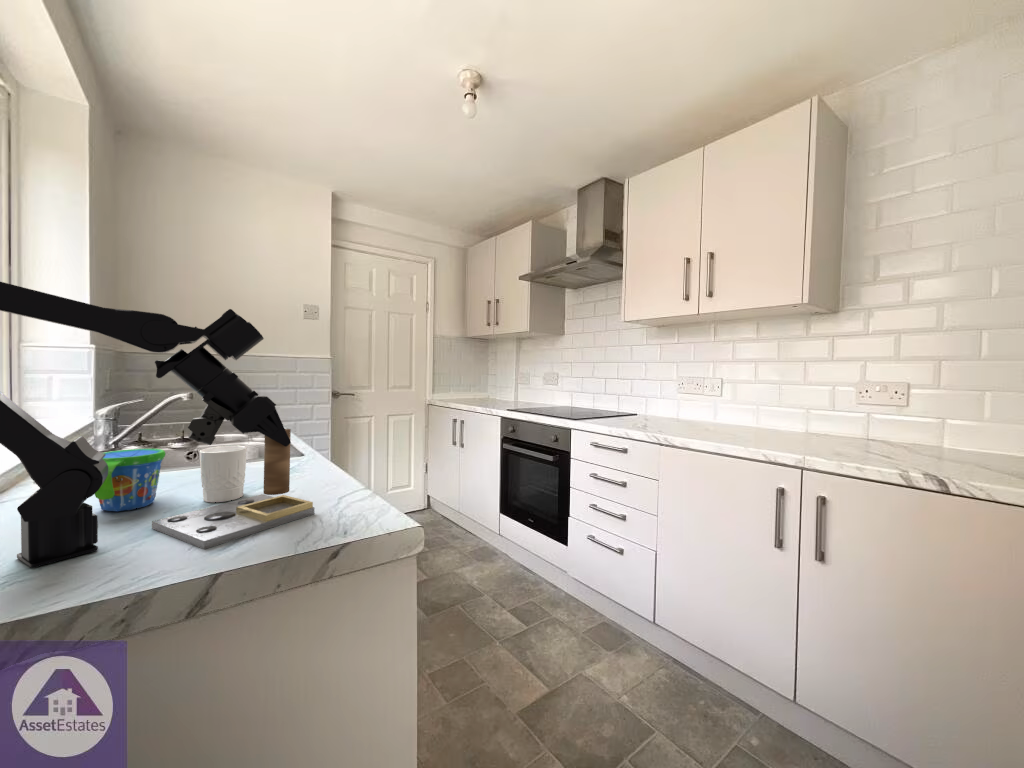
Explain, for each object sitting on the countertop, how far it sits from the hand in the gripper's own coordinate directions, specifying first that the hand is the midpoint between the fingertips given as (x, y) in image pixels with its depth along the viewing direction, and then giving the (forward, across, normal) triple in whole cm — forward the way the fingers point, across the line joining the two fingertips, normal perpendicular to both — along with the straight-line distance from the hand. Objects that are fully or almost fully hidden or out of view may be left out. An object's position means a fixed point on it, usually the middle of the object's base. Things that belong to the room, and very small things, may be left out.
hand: (286, 442), depth 76 cm
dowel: (+5, 0, -7) cm, 9 cm away
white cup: (+4, -19, -15) cm, 24 cm away
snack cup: (-6, -22, -26) cm, 34 cm away
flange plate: (+4, -2, -14) cm, 15 cm away
